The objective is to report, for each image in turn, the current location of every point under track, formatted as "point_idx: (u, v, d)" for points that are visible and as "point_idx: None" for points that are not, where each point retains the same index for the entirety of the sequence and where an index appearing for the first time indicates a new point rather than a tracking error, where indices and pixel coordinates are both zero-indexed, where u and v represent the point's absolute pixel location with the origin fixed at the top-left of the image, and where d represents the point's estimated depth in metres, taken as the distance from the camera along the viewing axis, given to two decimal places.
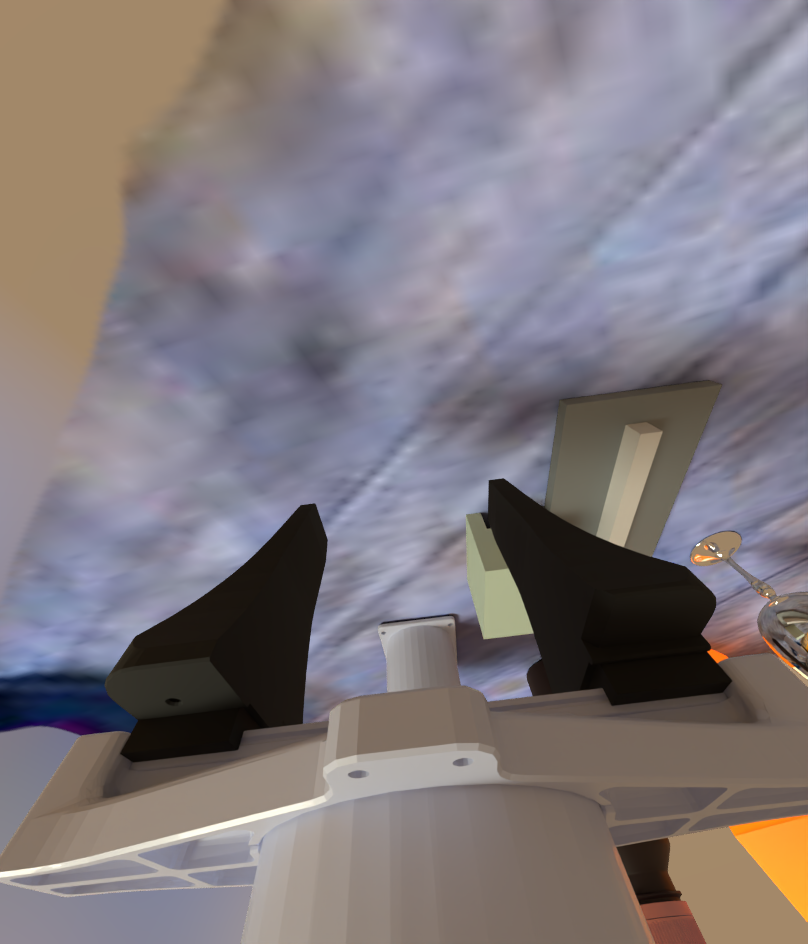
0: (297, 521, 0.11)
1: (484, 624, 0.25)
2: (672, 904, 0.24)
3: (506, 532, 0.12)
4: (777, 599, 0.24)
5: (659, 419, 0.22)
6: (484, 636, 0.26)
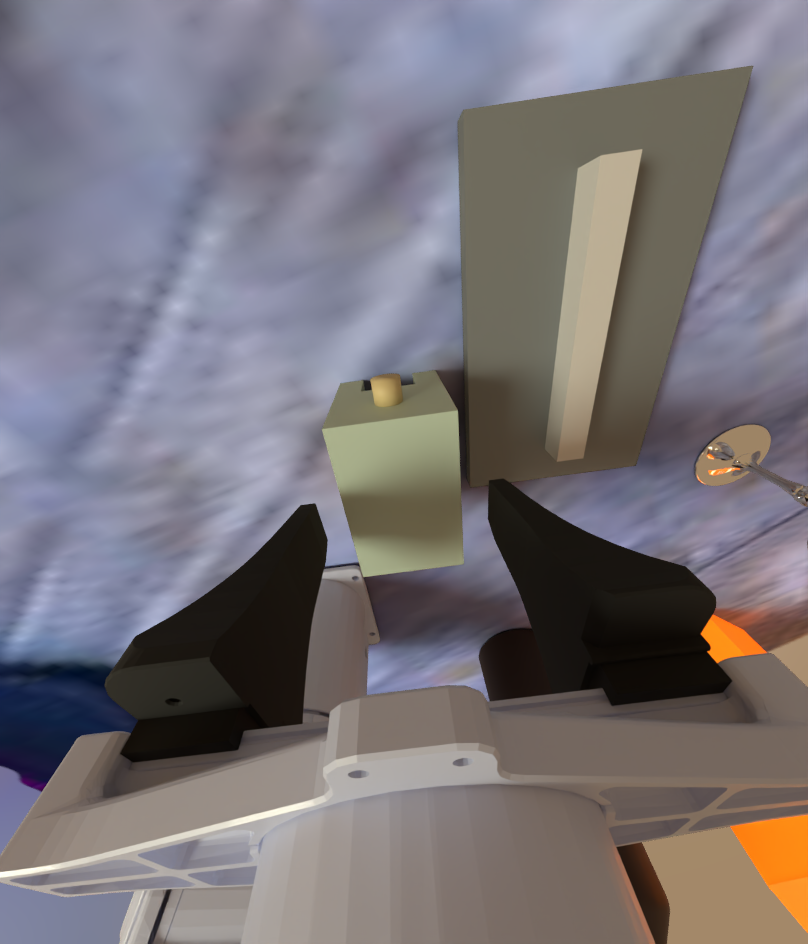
0: (297, 521, 0.11)
1: (356, 548, 0.15)
2: None
3: (506, 532, 0.12)
4: None
5: None
6: (363, 571, 0.16)
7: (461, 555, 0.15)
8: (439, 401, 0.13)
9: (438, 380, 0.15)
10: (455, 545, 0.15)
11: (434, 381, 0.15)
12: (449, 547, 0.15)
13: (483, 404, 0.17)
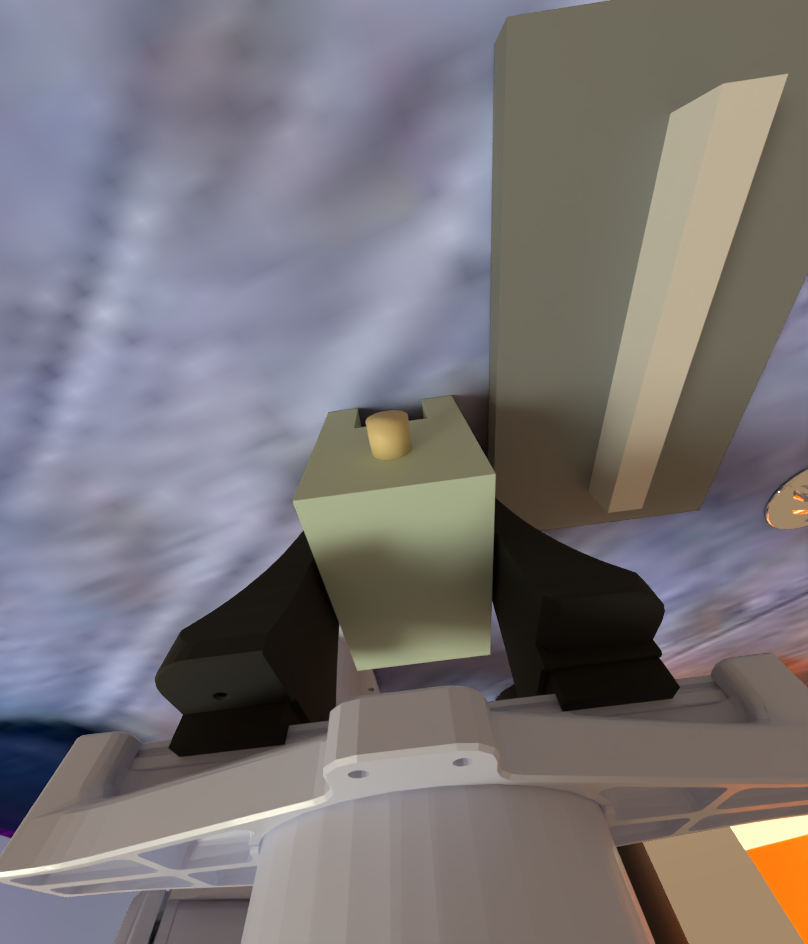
0: None
1: (347, 640, 0.11)
2: None
3: None
4: None
5: None
6: (357, 665, 0.12)
7: (487, 645, 0.12)
8: (464, 453, 0.09)
9: (458, 413, 0.11)
10: (481, 634, 0.11)
11: (452, 415, 0.11)
12: (472, 637, 0.11)
13: (514, 439, 0.13)
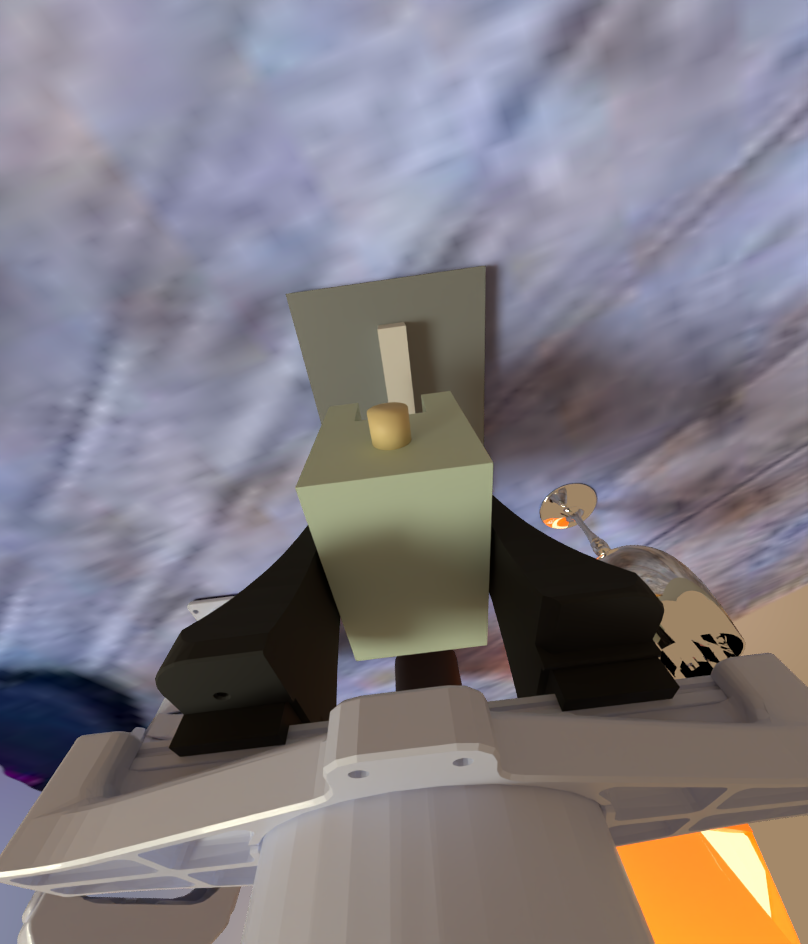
0: None
1: (347, 629, 0.11)
2: None
3: None
4: (599, 556, 0.19)
5: (419, 318, 0.17)
6: (356, 655, 0.12)
7: (484, 635, 0.12)
8: (463, 444, 0.09)
9: (456, 407, 0.11)
10: (478, 624, 0.11)
11: (451, 409, 0.11)
12: (469, 627, 0.12)
13: None
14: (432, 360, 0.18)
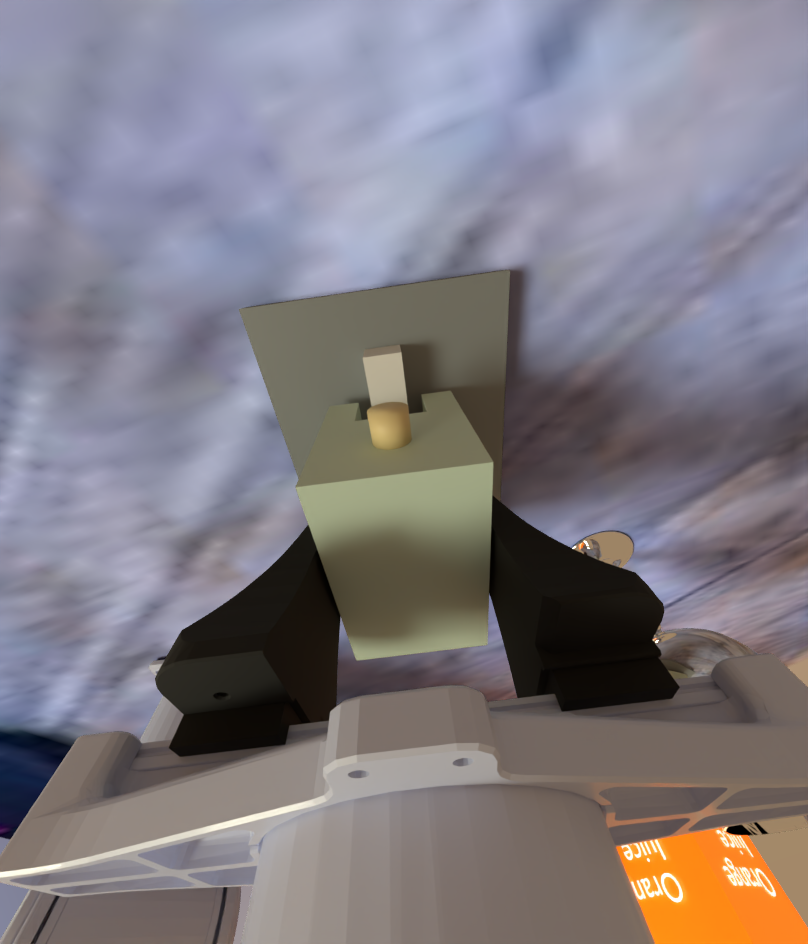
0: None
1: (347, 629, 0.11)
2: None
3: None
4: None
5: (420, 339, 0.13)
6: (356, 654, 0.12)
7: (485, 635, 0.12)
8: (463, 443, 0.09)
9: (457, 407, 0.11)
10: (478, 624, 0.11)
11: (452, 408, 0.11)
12: (470, 627, 0.12)
13: None
14: None
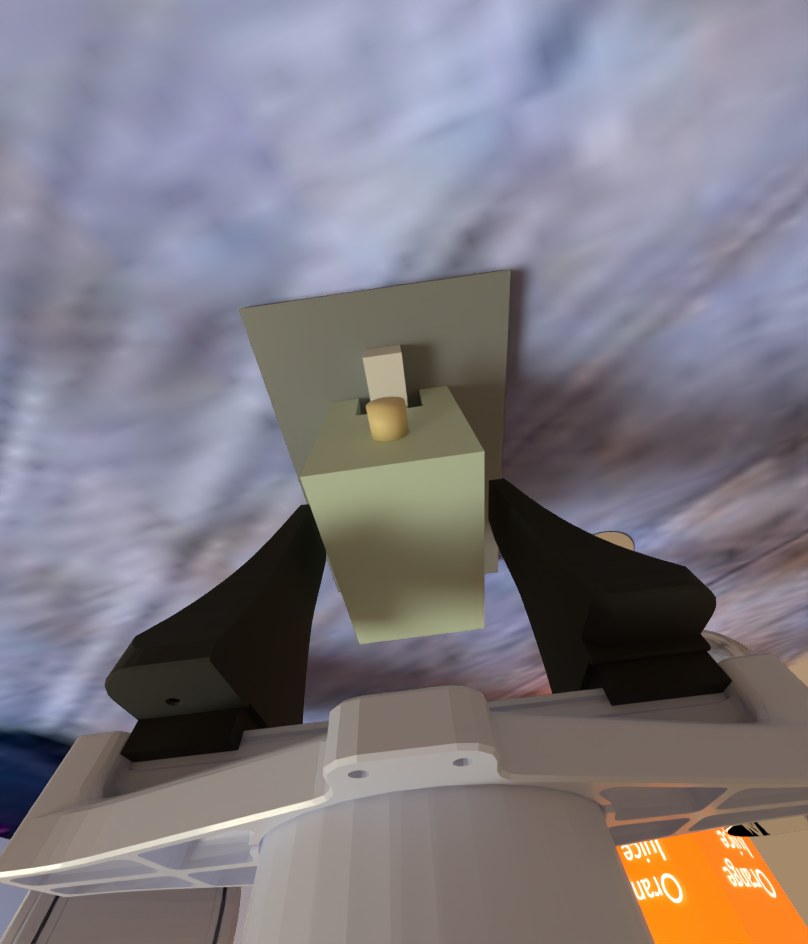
0: (297, 521, 0.11)
1: (350, 613, 0.12)
2: None
3: (506, 532, 0.12)
4: None
5: (420, 339, 0.13)
6: (359, 638, 0.13)
7: (481, 619, 0.12)
8: (457, 434, 0.10)
9: (452, 401, 0.12)
10: (475, 608, 0.12)
11: (447, 402, 0.12)
12: (467, 610, 0.12)
13: None
14: None
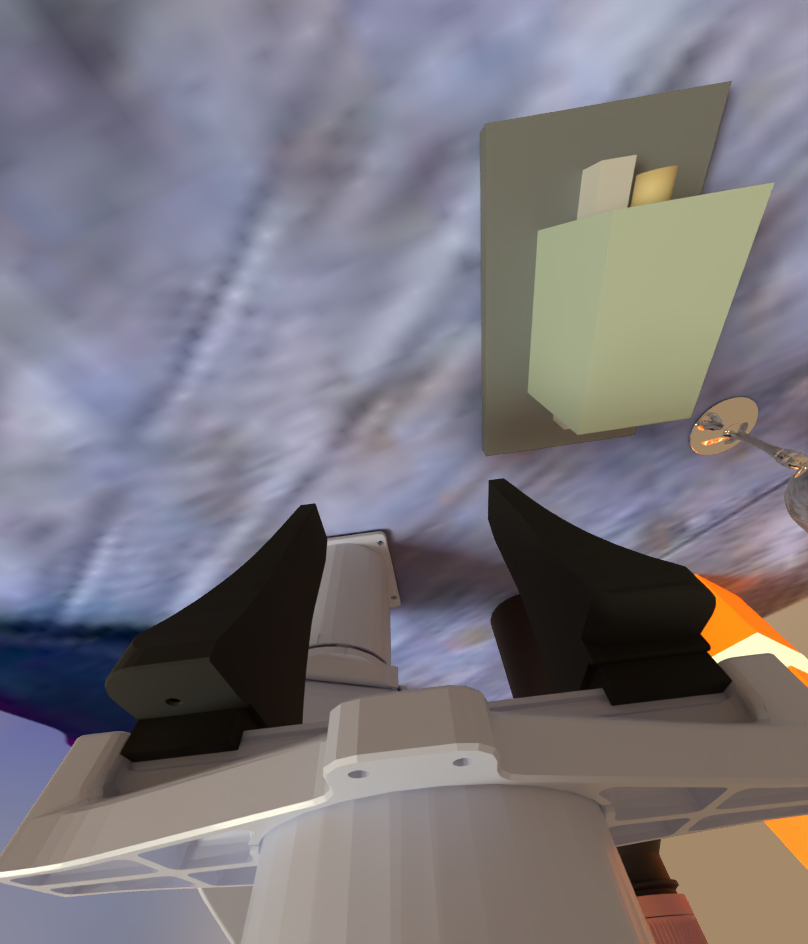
0: (297, 521, 0.11)
1: (584, 393, 0.14)
2: (664, 898, 0.17)
3: (506, 532, 0.12)
4: None
5: None
6: (579, 427, 0.14)
7: (692, 405, 0.14)
8: None
9: None
10: (692, 389, 0.14)
11: None
12: (684, 393, 0.14)
13: (499, 379, 0.19)
14: None
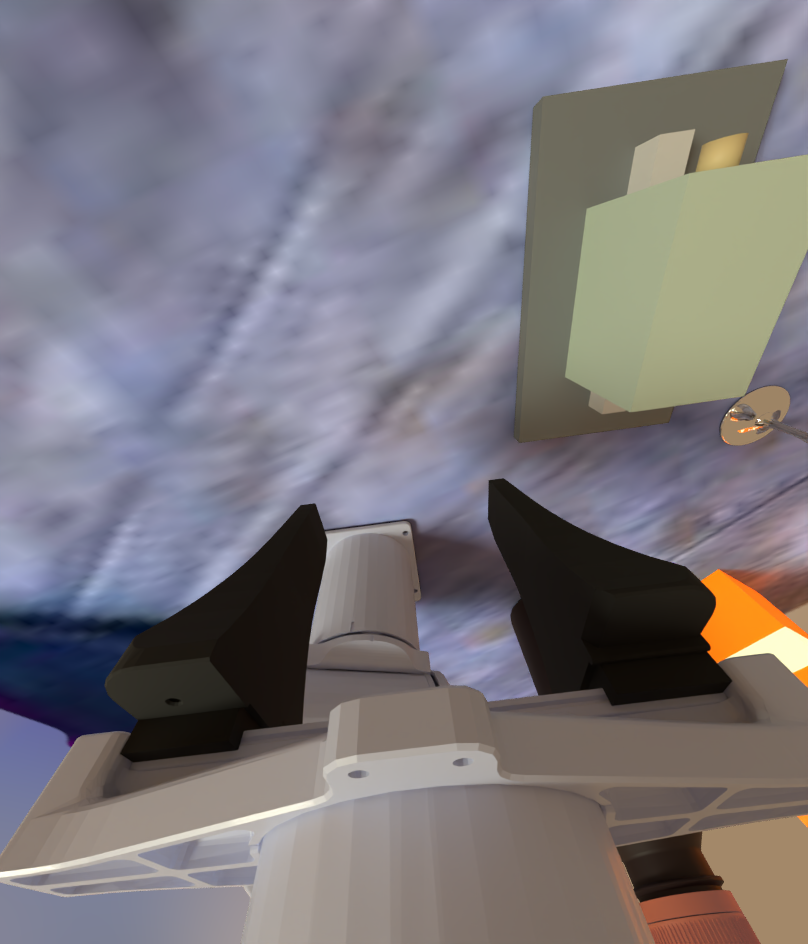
0: (297, 521, 0.11)
1: (641, 368, 0.13)
2: (712, 895, 0.16)
3: (505, 532, 0.12)
4: None
5: None
6: (633, 404, 0.14)
7: (747, 382, 0.14)
8: None
9: None
10: (749, 366, 0.13)
11: None
12: (740, 369, 0.14)
13: (537, 362, 0.19)
14: None
